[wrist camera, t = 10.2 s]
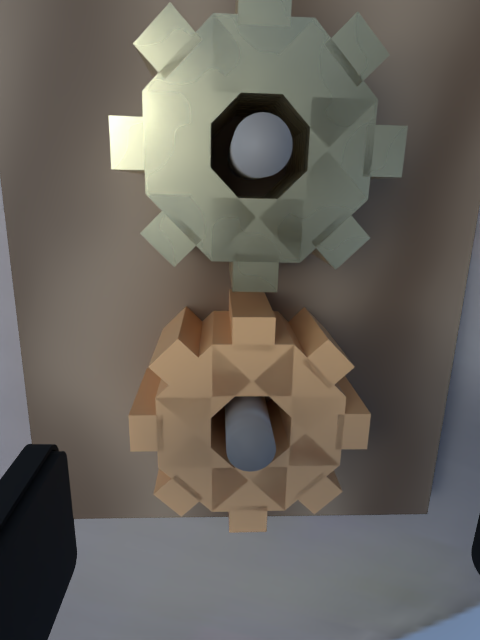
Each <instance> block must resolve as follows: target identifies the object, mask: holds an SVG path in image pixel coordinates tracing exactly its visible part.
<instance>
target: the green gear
mask: <svg viewBox="0 0 480 640" xmlns="http://www.w3.org/2000/svg"><path fill="white" fill-rule="evenodd" d="M291 6H292V0H236V6H235V14H227V13H213V14H212V15H211V16H210V17H209V18H208V19H207V20H206V21H205V22H204V24H203V25H202V26H201V27H200V28H199V29H198V30H197V31H196V32H195V31H194V30H193V29H192V27H191V26H190V25H189V24H188V23H187V21H186V20H185V19H184V18H183V17H182V16H181V14H180V13H179V12H178V11H177V10H176V9H175V7H174V6H173V5H172V4H171V3H169V4H168V5H167V6H166V7H165V8H164V9H163V10H162V12H161V13H160V14H159V15H158V16H157V17H156V18H155V19H154V21H153V22H152V23H151V24H150V25H149V26H148V27H147V28H146V29H145V31H144V32H143V33H142V34H141V35H140V36H139V37H138V38H137V40H136V41H135V42H134V43H133V45H134V46H135V48H136V50H137V51H138V53H139V55H140V57H141V58H142V60H143V62H144V63H145V65H146V67H147V69H148V70H149V72H150V74H151V75H152V77H153V79H152V80H151V81H150V83H149V84H148V85H147V86H146V87H145V88H144V89H143V90H142V105H143V117H135V116H109V134H110V153H111V169H112V170H118V171H124V172H130V173H135V174H145V194H146V195H147V196H148V197H149V198H150V199H151V200H152V201H153V202H154V203H155V204H156V205H157V206H158V207H159V208H160V209H161V210H162V211H161V212H160V213H159V214H158V215H157V216H156V217H155V218H154V220H153V221H152V222H151V223H150V224H149V225H148V226H147V227H146V228H145V229H144V230H143V231H142V232H141V233H140V234H141V235H142V236H143V237H144V238H145V239H146V240H147V241H148V242H149V243H150V244H151V245H152V246H153V247H154V248H155V249H156V250H157V251H158V252H159V253H160V254H161V255H162V256H163V257H164V258H165V259H166V260H167V261H168V262H169V263H170V264H172V265H173V266H174V267H175V266H176V265H177V264H178V263H179V262H180V261H181V260H182V259H183V258H184V257H185V256H186V255H187V254H188V253H189V252H190V251H191V250H192V249H193V248H194V247H195V246H197V247H198V248H199V249H200V250H201V251H202V252H203V253H204V254H205V255H206V256H207V257H208V258H209V259H210V260H211V261H223V262H229V273H230V279H231V286H232V292H277V289H278V268H279V262H281V263H300V262H301V261H303V260H304V259H305V258H306V257H307V256H308V255H309V254H310V253H312V254H313V255H315V256H316V257H318V258H319V259H321V260H322V261H324V262H325V263H326V264H328V265H329V266H331V267H332V268H334V269H335V270H336V269H337V268H338V267H339V266H340V265H342V264H343V263H344V262H345V261H346V260H347V259H348V258H349V257H350V256H351V255H353V254H354V253H355V252H356V251H357V250H358V249H359V248H360V247H361V246H362V245H364V244H365V243H366V242H367V241H368V240H369V239H370V237H369V236H368V234H367V233H366V232H365V231H364V230H363V229H362V227H361V226H360V225H359V224H358V223H357V222H356V220H355V219H354V218H353V217H352V216H351V215H352V214H353V213H354V212H355V211H356V210H357V209H359V208H360V207H361V206H362V205H363V204H364V203H365V202H366V201H367V200H368V195H369V185H370V179H383V178H401V177H402V170H403V162H404V154H405V146H406V137H407V129H408V126H396V125H376V117H377V107H378V99H377V97H376V96H375V95H374V93H373V92H372V91H371V89H370V88H369V87H368V86H367V84H366V83H365V82H364V80H365V79H366V78H367V77H368V76H369V75H370V74H371V73H372V72H373V71H374V70H375V69H376V68H377V67H378V66H379V65H380V64H381V63H382V62H383V61H384V60H385V59H386V58H387V57H388V56H389V55H390V54H389V53H388V51H387V50H386V49H385V47H384V46H383V45H382V43H381V42H380V41H379V39H378V38H377V36H376V35H375V34H374V32H373V31H372V30H371V28H370V27H369V26H368V24H367V23H366V22H365V20H364V19H363V17H362V16H361V15H360V13H359V12H358V11H357V12H356V13H355V14H354V15H353V17H352V18H351V19H350V20H349V21H348V22H347V23H346V24H345V25H344V26H343V27H342V28H341V29H340V30H339V31H338V32H337V33H336V34H335V35H334V36H333V37H332V38H331V37H330V36H329V35H328V33H327V32H326V31H325V30H324V28H323V27H322V26H321V24H320V23H319V22H318V20H317V19H316V18H311V17H291ZM259 112H266V113H271V114H273V115H276V116H277V117H279V118H280V119H282V120H283V121H284V122H285V124H286V125H287V127H288V128H289V130H290V133H291V136H292V153H291V156H290V159H289V160H288V162H287V166H286V175H285V176H284V177H283V178H282V179H281V180H280V181H279V182H278V183H277V184H276V185H275V186H274V187H273V188H272V189H271V190H270V191H269V192H268V193H267V194H266V195H265V196H236V195H235V194H234V193H233V192H232V191H231V189H230V188H229V187H228V186H227V185H226V184H225V183H224V182H223V181H222V180H221V179H220V178H219V176H218V175H217V174H216V173H215V172H214V171H213V170H212V139H213V138H214V137H215V136H216V135H217V134H218V133H219V132H220V131H221V130H222V129H223V128H224V127H225V126H226V125H227V124H228V123H229V122H230V120H231V119H232V118H233V117H234V116H250V115H252V114H254V113H259Z"/></svg>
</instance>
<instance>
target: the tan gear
mask: <svg viewBox="0 0 480 640" xmlns="http://www.w3.org/2000/svg"><path fill="white" fill-rule="evenodd" d="M148 367H149V368H147V369H146V371H145V374H144V377H143V379H142V382H141V384H140V387H139V390H138V392H137V395H136V397H135V400H134V402H133V405H132V408H131V410H130V413H129V415H128V418H129V436H130V452H145V451H157V456H158V468H159V470H158V475H157V480H156V484H155V489H154V494H153V495H155V496H156V497H157V498H158V499H160V500H161V501H162V502H163V503H165V504H166V505H167V506H168V507H170V508H171V509H172V510H173V511H175V512H176V513H177V514H178V515H180V516H181V517H182V516H183V515H184V514H185V513H187V512H188V511H189V510H190V509H191V508H192V507H194V506H195V505H196V504H197V503H198V502H200V503H202V504H203V505H204V506H205V507H207V508H208V509H209V510H210V511H211V512H229V532H266V531H267V511H285V510H286V509H287V508H289V507H290V506H291V505H292V504H294V503H295V502H296V501H297V500H299V501H300V502H301V503H302V504H303V505H304V506H305V507H306V508H308V509H309V510H310V511H311V512H312V513H313V514H316V513H317V512H318V511H319V510H321V509H322V508H323V507H324V506H326V505H327V504H328V503H329V502H331V501H332V500H333V499H334V498H335V497H337V496H338V495H339V494H340V493H342V492H343V491H342V489H341V486H340V484H339V481H338V479H337V477H336V474H335V472H334V470H335V469H336V468H337V467H338V466H340V459H341V449H367V445H368V436H369V427H370V419H371V413H370V412H369V410H368V409H367V407H366V406H365V404H364V403H363V402H362V400H361V399H360V397H359V396H358V394H357V393H356V391H355V390H354V388H353V387H352V385H351V384H350V382H349V381H348V380H347V378H346V377H345V375H346V374H347V373H349V372H350V371H351V370H352V369H353V368H354V367H355V366H354V365H353V364H352V362H351V361H350V360H349V359H348V357H347V356H346V355H345V353H344V352H343V351H342V349H341V348H340V347H339V346H338V344H337V343H336V342H335V340H334V339H333V338H332V336H331V335H330V334H329V333H328V331H327V330H326V329H325V328H324V327H323V326H322V325H321V324H320V323H319V322H318V320H317V319H316V318H315V317H314V316H313V315H312V314H311V313H310V312H309V311H308V310H307V309H306V308H305V307H304V308H303V309H302V310H301V311H299V312H298V313H297V314H296V315H295V316H294V317H293V318H292V319H291V320H290V321H289V322H288V321H287V320H286V319H285V318H284V317H283V316H282V315H281V314H280V313H279V312H278V311H273V310H272V308H271V306H270V304H269V301H268V299H267V297H266V295H265V293H264V292H232V289H229V311H213V312H212V313H211V314H210V315H209V316H207V317H206V318H205V319H204V320H203V321H201V320H200V319H199V318H198V317H197V316H196V315H195V314H194V313H193V312H192V311H191V310H190V309H189V308H188V307H187V306H186V307H185V308H184V309H183V310H182V311H181V312H180V313H179V314H178V315H177V316H176V317H175V318H173V319H172V320H171V321H170V322H169V323H168V324H167V325H166V326H165V327H164V328H163V330H162V332H161V335H160V338H159V340H158V343H157V345H156V348H155V351H154V353H153V356H152V358H151V361H150V364H149V366H148ZM235 396H269V397H270V398H271V399H270V400H269V401H268V402H266V405H267V409H268V414H269V418H270V422H271V427H272V431H273V435H274V440H275V444H276V453H275V456H274V458H273V460H272V461H271V463H270V464H269V465H268V466H266V467H265V468H263V469H261V470H258V471H251V472H250V471H243V470H240V469H238V468H236V467H235V466H233V465H232V464H231V462H230V461H229V459H228V457H227V453H226V429H225V405H226V404H227V403H228V402H229V401H230V400H232V399H233V398H234V397H235Z"/></svg>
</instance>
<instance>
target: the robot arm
mask: <svg viewBox="0 0 480 640" xmlns="http://www.w3.org/2000/svg"><path fill="white" fill-rule="evenodd" d="M76 559H77V547H76V537H75V528H74V518H73V509H72V499H71V489H70V480H69V470H68V460H67V454H66V452H65V451H59V449H58V447H57V445H55V444H28V445H26V446H25V447H24V449H23V450H22V451H21V453H20V454H19V455H18V457H17V458H16V459H15V461H14V462H13V463H12V465H11V466H10V467H9V469H8V470H7V471H6V473H5V474H4V475H3V477H2V478H1V479H0V640H47V639H48V637H49V634H50V632H51V629H52V626H53V624H54V621H55V619H56V616H57V614H58V611H59V608H60V606H61V603H62V601H63V598H64V595H65V593H66V590H67V588H68V585H69V582H70V580H71V577H72V575H73V572H74V569H75V565H76ZM472 560H473V563H474V566H475V568H476V570H477V571H478V573H479V574H480V515H479V519H478V524H477V528H476V532H475V537H474V541H473V546H472Z"/></svg>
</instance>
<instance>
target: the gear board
mask: <svg viewBox="0 0 480 640" xmlns="http://www.w3.org/2000/svg"><path fill="white" fill-rule="evenodd" d="M169 3H171V4H172V5H173V6H174V7H175V9H176V10H177V11H178V12H179V13H180V14H181V16H182V17H183V18H184V19H185V20H186V21H187V23H188V24H189V25H190V26H191V27H192V29H193V30H194V31H195V32H196V31H197V30H198V29H199V28H200V27H201V26H202V25H203V24H204V22H205V21H206V20H207V19H208V18H209V17H210V16H211V15H212V14H213V13H227V14H235V6H236V0H0V178H1V187H2V195H3V204H4V212H5V220H6V229H7V237H8V246H9V254H10V263H11V271H12V279H13V288H14V296H15V305H16V313H17V321H18V330H19V338H20V347H21V355H22V364H23V372H24V380H25V389H26V397H27V406H28V414H29V423H30V431H31V439H32V444H55V445H57V447H58V449H59V451H65V452H66V454H67V460H68V470H69V480H70V489H71V499H72V509H73V518H74V519H93V518H167V517H181V516H180V515H178V514H177V513H176V512H175V511H173V510H172V509H171V508H170V507H168V506H167V505H166V504H165V503H163V502H162V501H161V500H160V499H158V498H157V497H156V496H155V495H153V494H154V489H155V484H156V480H157V475H158V470H159V468H158V456H157V451H145V452H130V436H129V418H128V415H129V413H130V410H131V408H132V405H133V402H134V400H135V397H136V395H137V392H138V390H139V387H140V384H141V382H142V379H143V377H144V374H145V371H146V369H147V368H149V367H148V366H149V364H150V361H151V358H152V356H153V353H154V351H155V348H156V345H157V343H158V340H159V338H160V335H161V332H162V330H163V328H164V327H165V326H166V325H167V324H168V323H169V322H170V321H171V320H172V319H173V318H175V317H176V316H177V315H178V314H179V313H180V312H181V311H182V310H183V309H184V308H185V307H186V306H187V307H188V308H189V309H190V310H191V311H192V312H193V313H194V314H195V315H196V316H197V317H198V318H199V319H200V320H201V321H203V320H204V319H205V318H206V317H207V316H209V315H210V314H211V313H212V312H213V311H229V289H232V286H231V279H230V273H229V262H223V261H211V260H210V259H209V258H208V257H207V256H206V255H205V254H204V253H203V252H202V251H201V250H200V249H199V248H198V247H197V246H195V247H194V248H193V249H192V250H191V251H190V252H189V253H188V254H187V255H186V256H185V257H184V258H183V259H182V260H181V261H180V262H179V263H178V264H177V265H176V266H175V267H174V266H173V265H172V264H170V263H169V262H168V261H167V260H166V259H165V258H164V257H163V256H162V255H161V254H160V253H159V252H158V251H157V250H156V249H155V248H154V247H153V246H152V245H151V244H150V243H149V242H148V241H147V240H146V239H145V238H144V237H143V236H142V235H141V234H140V233H141V232H142V231H143V230H144V229H145V228H146V227H147V226H148V225H149V224H150V223H151V222H152V221H153V220H154V218H155V217H156V216H157V215H158V214H159V213H160V212H161V211H162V210H161V209H160V208H159V207H158V206H157V205H156V204H155V203H154V202H153V201H152V200H151V199H150V198H149V197H148V196H147V195H146V194H145V174H135V173H130V172H124V171H118V170H112V169H111V153H110V134H109V116H135V117H143V105H142V90H143V89H144V88H145V87H146V86H147V85H148V84H149V83H150V81H151V80H152V79H153V77H152V75H151V74H150V72H149V70H148V69H147V67H146V65H145V63H144V62H143V60H142V58H141V57H140V55H139V53H138V51H137V50H136V48H135V46H134V45H133V43H134V42H135V41H136V40H137V38H138V37H139V36H140V35H141V34H142V33H143V32H144V31H145V29H146V28H147V27H148V26H149V25H150V24H151V23H152V22H153V21H154V19H155V18H156V17H157V16H158V15H159V14H160V13H161V12H162V10H163V9H164V8H165V7H166V6H167V5H168V4H169ZM357 11H358V12H359V13H360V15H361V16H362V17H363V19H364V20H365V22H366V23H367V24H368V26H369V27H370V28H371V30H372V31H373V32H374V34H375V35H376V36H377V38H378V39H379V41H380V42H381V43H382V45H383V46H384V47H385V49H386V50H387V51H388V53H389V54H390V55H389V56H388V57H387V58H386V59H385V60H384V61H383V62H382V63H381V64H380V65H379V66H378V67H377V68H376V69H375V70H374V71H373V72H372V73H371V74H370V75H369V76H368V77H367V78H366V79H365V80H364V82H365V83H366V84H367V86H368V87H369V88H370V89H371V91H372V92H373V93H374V95H375V96H376V97H377V99H378V107H377V117H376V125H396V126H408V129H407V137H406V146H405V154H404V162H403V170H402V177H401V178H383V179H370V185H369V195H368V200H367V201H366V202H365V203H364V204H363V205H362V206H361V207H360V208H359V209H357V210H356V211H355V212H354V213H353V214H352V215H351V216H352V217H353V218H354V219H355V220H356V222H357V223H358V224H359V225H360V226H361V227H362V229H363V230H364V231H365V232H366V233H367V234H368V236H369V237H370V239H369V240H368V241H367V242H366V243H365V244H364V245H362V246H361V247H360V248H359V249H358V250H357V251H356V252H355V253H354V254H353V255H351V256H350V257H349V258H348V259H347V260H346V261H345V262H344V263H343V264H342V265H340V266H339V267H338V268H337V269H336V270H335V269H334V268H332V267H331V266H329V265H328V264H326V263H325V262H324V261H322V260H321V259H319V258H318V257H316V256H315V255H313V254H312V253H310V254H309V255H308V256H307V257H306V258H305V259H304V260H303V261H301V262H300V263H281V262H279V268H278V289H277V292H264V293H265V295H266V297H267V299H268V301H269V304H270V306H271V308H272V310H273V311H278V312H279V313H280V314H281V315H282V316H283V317H284V318H285V319H286V320H287V321H288V322H289V321H290V320H291V319H292V318H293V317H294V316H295V315H296V314H297V313H298V312H299V311H301V310H302V309H303V308H304V307H305V308H306V309H307V310H308V311H309V312H310V313H311V314H312V315H313V316H314V317H315V318H316V319H317V320H318V322H319V323H320V324H321V325H322V326H323V327H324V328H325V329H326V330H327V331H328V333H329V334H330V335H331V336H332V338H333V339H334V340H335V342H336V343H337V344H338V346H339V347H340V348H341V349H342V351H343V352H344V353H345V355H346V356H347V357H348V359H349V360H350V361H351V362H352V364H353V365H354V366H355V367H354V368H353V369H352V370H351V371H350V372H349V373H347V374H346V375H345V377H346V378H347V380H348V381H349V382H350V384H351V385H352V387H353V388H354V390H355V391H356V393H357V394H358V396H359V397H360V399H361V400H362V402H363V403H364V404H365V406H366V407H367V409H368V410H369V412H370V413H371V419H370V427H369V436H368V445H367V449H341V459H340V466H338V467H337V468H336V469H335V470H334V472H335V474H336V477H337V479H338V481H339V484H340V486H341V489H342V491H343V492H342V493H340V494H339V495H338V496H337V497H335V498H334V499H333V500H332V501H331V502H329V503H328V504H327V505H326V506H324V507H323V508H322V509H321V510H319V511H318V512H317V513H316V514H313V513H312V512H311V511H310V510H309V509H308V508H306V507H305V506H304V505H303V504H302V503H301V502H300V501H299V500H297V501H296V502H295V503H294V504H292V505H291V506H290V507H289V508H287V509H286V510H285V511H267V516H315V515H389V514H427V512H428V506H429V501H430V495H431V489H432V483H433V477H434V471H435V465H436V459H437V453H438V447H439V442H440V436H441V430H442V424H443V418H444V412H445V406H446V400H447V394H448V388H449V383H450V377H451V371H452V365H453V359H454V353H455V347H456V341H457V335H458V329H459V324H460V318H461V312H462V306H463V300H464V294H465V288H466V282H467V276H468V270H469V265H470V259H471V253H472V247H473V241H474V235H475V229H476V223H477V217H478V211H479V206H480V0H292V6H291V17H311V18H316V19H317V20H318V22H319V23H320V24H321V26H322V27H323V28H324V30H325V31H326V32H327V33H328V35H329V36H330V37H331V38H332V37H333V36H334V35H335V34H336V33H337V32H338V31H339V30H340V29H341V28H342V27H343V26H344V25H345V24H346V23H347V22H348V21H349V20H350V19H351V18H352V17H353V15H354V14H355V13H356V12H357ZM291 153H292V136H291V133H290V130H289V128H288V127H287V125H286V124H285V122H284V121H283V120H282V119H280V118H279V117H277V116H276V115H273V114H271V113H266V112H259V113H254V114H252V115H250V116H234V117H233V118H232V119H231V120H230V122H229V123H228V124H227V125H226V126H225V127H224V128H223V129H222V130H221V131H220V132H219V133H218V134H217V135H216V136H215V137H214V138H213V139H212V170H213V171H214V172H215V173H216V174H217V175H218V176H219V178H220V179H221V180H222V181H223V182H224V183H225V184H226V185H227V186H228V187H229V188H230V189H231V191H232V192H233V193H234V194H235V195H236V196H265V195H266V194H267V193H268V192H269V191H270V190H271V189H272V188H273V187H274V186H275V185H276V184H277V183H278V182H279V181H280V180H281V179H282V178H283V177H284V176H285V175H286V166H287V162H288V160H289V159H290V156H291ZM270 399H271V398H270V397H269V396H235V397H234V398H233V399H232V400H230V401H229V402H228V403H227V404H226V405H225V429H226V453H227V457H228V459H229V461H230V462H231V464H232V465H233V466H235V467H236V468H238V469H240V470H243V471H250V472H251V471H258V470H261V469H263V468H265V467H266V466H268V465H269V464H270V463H271V461H272V460H273V458H274V456H275V453H276V444H275V440H274V435H273V431H272V427H271V422H270V418H269V414H268V409H267V405H266V402H268V401H269V400H270ZM182 517H229V512H211V511H210V510H209V509H208V508H207V507H205V506H204V505H203V504H202V503H200V502H198V503H197V504H196V505H195V506H194V507H192V508H191V509H190V510H189V511H188V512H187V513H185V514H184V515H183V516H182Z"/></svg>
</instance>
